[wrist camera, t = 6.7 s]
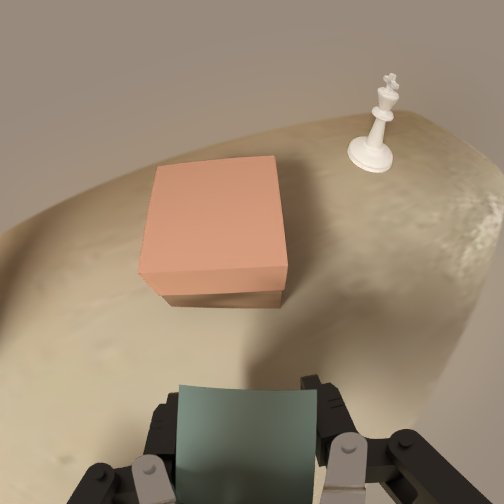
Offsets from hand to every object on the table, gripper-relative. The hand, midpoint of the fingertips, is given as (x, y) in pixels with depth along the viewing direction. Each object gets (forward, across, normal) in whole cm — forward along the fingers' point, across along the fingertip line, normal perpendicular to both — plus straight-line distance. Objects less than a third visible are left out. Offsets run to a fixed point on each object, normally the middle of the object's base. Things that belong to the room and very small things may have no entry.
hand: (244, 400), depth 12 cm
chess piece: (+19, -15, -9) cm, 26 cm away
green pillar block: (+2, 0, +4) cm, 5 cm away
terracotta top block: (+10, 0, -5) cm, 11 cm away
